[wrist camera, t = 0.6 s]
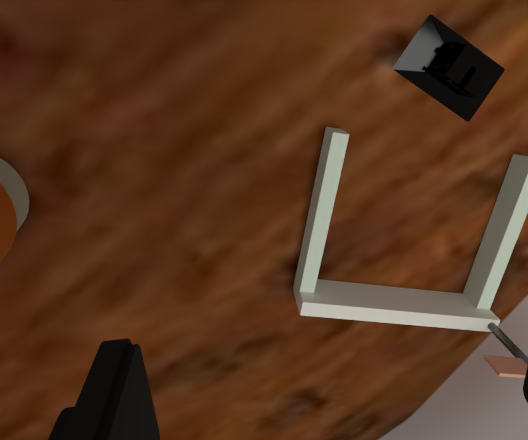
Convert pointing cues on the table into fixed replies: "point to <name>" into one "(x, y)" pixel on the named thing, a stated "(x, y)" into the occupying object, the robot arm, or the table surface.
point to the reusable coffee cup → (11, 206)
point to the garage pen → (406, 299)
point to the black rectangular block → (448, 68)
